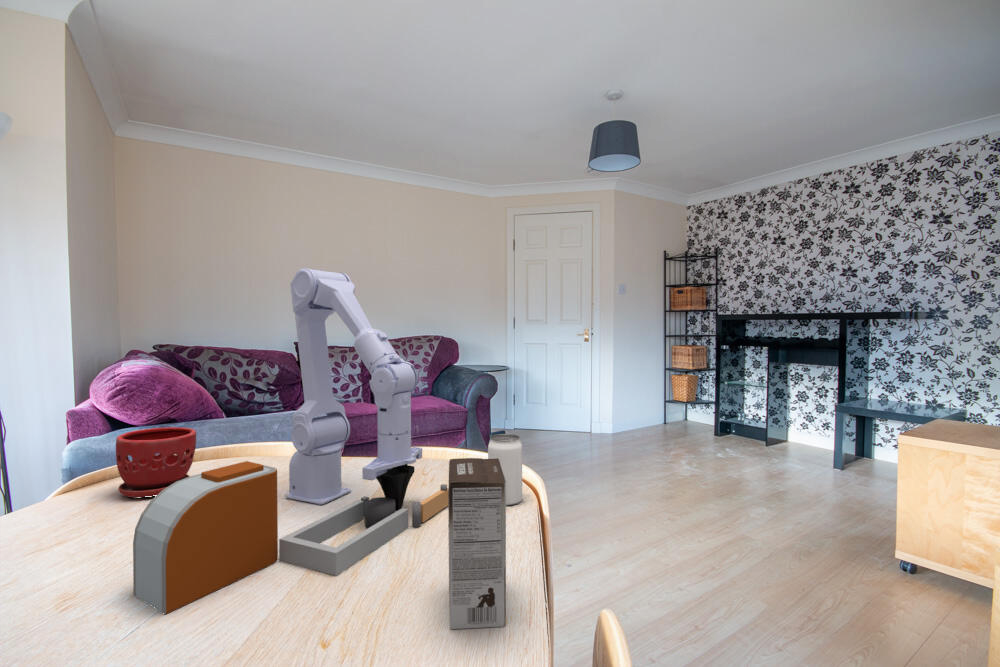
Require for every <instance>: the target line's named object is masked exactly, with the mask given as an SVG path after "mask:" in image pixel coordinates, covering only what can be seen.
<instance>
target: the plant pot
mask: <svg viewBox="0 0 1000 667" xmlns="http://www.w3.org/2000/svg"><path fill="white" fill-rule="evenodd" d="M196 446H197V431H196V430H195V429H193V428H189V427H178V426H175V427H172V426H171V427H169V426H168V427H155V428H153V427H152V428H145V429H138V430H133V431H129V432H125V433H121V434H119V435H118V436H117V437H116V438H115V459H116V460H115V461H116V467H117V470H118V474H119V476H120V478H121V480H122V481H123V483H120V485H119V486H118V492H119V493H120V494H121V495H122V496H124V497H126V496H127V498H130V497H145V496H153V495H158V494H159V493H160V492H161V491H162V490H163V489H165V488H167V487H168V486H170V485H171V484H173V483H175V482H177V481H179V480H182V479H185V478H187V477H190V475H189V474H188V473H189V472H190V469H191V467H192V464H193V461H194V456H195V452H196V448H197V447H196ZM129 457H131V460H130V459H129Z"/></svg>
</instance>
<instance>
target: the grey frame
mask: <svg viewBox="0 0 1000 667" xmlns="http://www.w3.org/2000/svg"><path fill="white" fill-rule="evenodd" d="M368 500H370V497H369V496H362V497H360V500H359V499H358V500H356V501H354V502H352V503H350V504H348V505H346V506H344V507H341V508H339V509H337V510H335V511H334V512H331V513H330V514H327V515H325V516H324V517H323V516H322V518H319V519H317V520H315V521H313V522H311V523H309V524H307V525H305V526H303V527H301V528H299V529H296V530H295V531H293V532H290V533H289V534H286V535H285V536H282V537H280V538H278V542H279V543H278V549H279V550H278V552H279V553H278V555H279V556H278V557H279V558H278V559H279V561H280V562H284V563H288V564H291V565H295V566H298V567H302V568H306V569H310V570H314V571H317V572H321V573H324V574H329V575H332V576H338V575H340V574H341V573H343V572H344V571H346V570H348V569H349V568H350V567H352V566H354V565H355V564H357V563H358V562H359V561H360V560H362V559H364V558H365V557H366V556H368V555H370V554H371V553H373V552H374V551H376V550H377V549H379V548H380V547H382V546H383V545H384V544H386V543H387V542H389V541H391V540H392V539H394V538H395V537H397V536H398V535H399V534H401V533H403V532H404V531H406V530H407V529H409V509H408V508H403V507H402V509H400V510H398V511H396V512H395V513H393V514H392V515H390V516H388V517H386V518H385V519H383V520H381V521H380V522H378V523H376V524H375V525H373V526H371V527H370V528H366V529H365V530H363V531H361V532H360V533H358V534H356V535H355V536H352V537H351V538H349V539H347V540H346V541H345V542H343V543H341V544H339V545H338V546H330V545H327V544H322V543H323V542H324V541H326V540H328V539H330V538H331V537H334V536H335V535H337V534H339V533H340V532H342V531H344V530H346V529H348V528H350V527H351V526H354V525H355V524H357V523H359V522H360V521H362V520H365V502H366V501H368Z"/></svg>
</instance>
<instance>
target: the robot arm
mask: <svg viewBox="0 0 1000 667" xmlns="http://www.w3.org/2000/svg"><path fill="white" fill-rule="evenodd" d="M291 280H292V281H291V282H290V294H291V301H292V303H291V304H292V310H293V311H292V312H293V314H294V316H295V317H294V318H295V326H296V328H295V329H296V336H297V346H298V355H299V364H300V373H301V382H302V389H303V390H302V391H303V400H304V403H303V404H302V405H301V406H300V407H298V409H297V410H296V411H295V412H294V413H293V414H292V422H293V423H292V428H291V429H292V430H291V434H290V438H291V443H292V445H293V447H294V448H295V449H296V451H295V452H294V453H293V455H292V456H291V458H290V460H289V463H288V464H289V465H288V466H289V467H288V469H289V470H288V471H289V472H288V473H289V477H288V478H289V480H288V481H289V483H288V484H289V489H288V490H289V493H288V494H286V495H285V497H286V498H287V499H291V500H295V501H296V500H297V501H300V502H306V503H312V504H317V505H324V504H326V503H327V504H328V502H331V501H333V500H337V499H338V498H340V497H342V496H344V495H347V494H348V493H351V492H352V489H351V488H347V487H342V449H343V448H345V443H346V442H347V441H348V439H349V438H350V434H351V425H350V422H349V421H350V420H348V418H347V415H346V411H345V406H344V405H343V404H342V403H340V402H339V401H338V400H336V399H335V398H334V391H333V382H332V375H331V374H332V373H331V363H330V356H329V348H328V338H327V328H326V320H327V319H328V318H329V317H330V316H331V315H334V313H335V312H336V314H337V315H338V316H339V318H340V319H341V320H342V322H343V323H344V324H345V325H346V327H347V329H348V330H349V331H350V332H351V334H352V335H353V337H354V338H355V339H354V343H353V347H354V350H355V351H356V353H357V355H358V357H359V358H360V359H361V361H362V363H363V364H364V365H365V368H366V369H367V371H368V373H369V374H370V375H371V379H369V381H368V382H369V386H370V390H371V393H373V396H374V397H373V398H374V404H375V407H377V457H376V458H374V459H373V460H372V461H371V462H370V463H368V464H367V465H365V466H363V467H362V468H361V469H362V472H361V473H362V480H365V481H372V482H373V481H375V480H377V481H378V483H379V486H380V487H381V489H382V492H383V494H384V495H383V496H384V497H389V498H393V499H395V511H396V512H397V511H398V510H400V509H402V508H403V506H404V501H405V496H406V493H407V490H408V486H409V483H410V481H411V479H412V477H413V475H414V473H415V466H413V464H414V463H417V460H420V459H422V458H423V447H419V446H412V392H414V390H416V388H417V385H418V382H419V380H418V379H419V378H418V373H417V370H416V368H415V366H414V364H412V363H411V362H410V361H405V360H404V359H403V358H401V357H400V355H399V354H398V353H397V352H396V350H395V349H394V348H393V346H392V344H391V343H390V341H389V340H388V338H389V336H388V335H387V334H386V332H384V331H383V330H381V329H377V328H373V327H372V324H371V323H370V321H369V320H368V317H367V316H366V314H365V312H364V310H363V309H362V306H361V304H360V303H359V301H358V299H357V297H356V296H355V293H356V292H355V291H356V286H355V284H354V282H352V280H351V277H350V276H349V275H348V274H347V273H344V272H333V271H324V270H318V269H311V268H308V267H302V268H300V269H299V270H297V272H296V273H295V275H294V277H293V278H292V279H291ZM320 415H323V416H320ZM316 416H318V417H316Z"/></svg>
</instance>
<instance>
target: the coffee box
mask: <svg viewBox="0 0 1000 667" xmlns="http://www.w3.org/2000/svg"><path fill="white" fill-rule="evenodd" d="M448 462H449V464H448V488H449V490H448V501H449V505H448V594H449V596H448V597H449V598H448V599H449V605H448V608H449V609H448V610H449V629H450V630H462V629H463V630H464V629H482V628H484V629H485V628H499V627H500V628H502V627H506V625H507V618H506V617H507V616H506V615H507V609H506V608H507V606H506V603H507V602H506V601H507V600H506V599H507V597H506V596H507V594H506V593H507V584H506V583H507V582H506V581H507V579H506V578H507V573H506V572H507V571H506V570H507V568H506V567H507V551H506V550H507V530H506V529H507V511H506V510H507V508H506V507H507V506H506V481H505V477H504V474H503V471H502V468H501V465H500V461H499V459H498V458H495V459H488V458H481V457H475V458H474V457H467V458H466V457H464V458H450V459H449V461H448Z"/></svg>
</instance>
